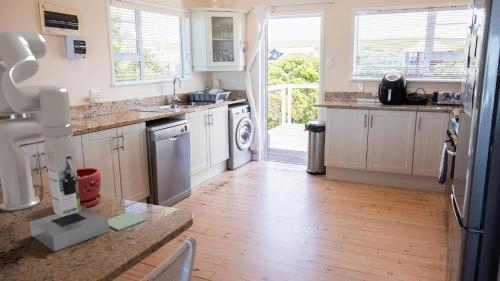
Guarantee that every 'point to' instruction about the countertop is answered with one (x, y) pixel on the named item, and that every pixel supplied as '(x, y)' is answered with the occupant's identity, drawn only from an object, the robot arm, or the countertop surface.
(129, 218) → the rubber mat
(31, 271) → the countertop surface
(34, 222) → the socket block
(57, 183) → the syrup box
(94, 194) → the plant pot
